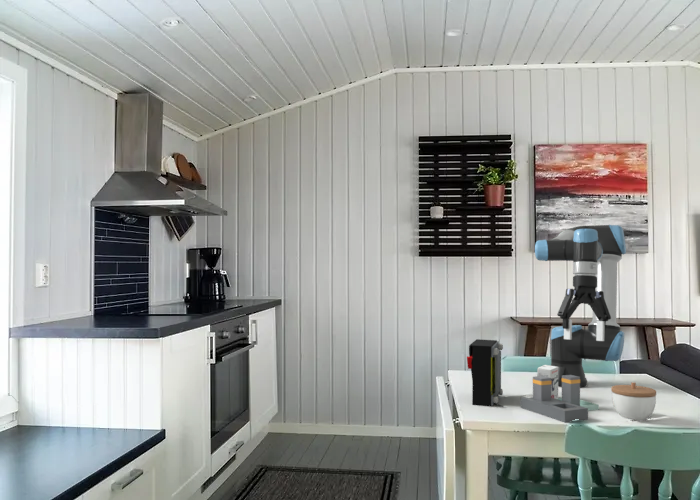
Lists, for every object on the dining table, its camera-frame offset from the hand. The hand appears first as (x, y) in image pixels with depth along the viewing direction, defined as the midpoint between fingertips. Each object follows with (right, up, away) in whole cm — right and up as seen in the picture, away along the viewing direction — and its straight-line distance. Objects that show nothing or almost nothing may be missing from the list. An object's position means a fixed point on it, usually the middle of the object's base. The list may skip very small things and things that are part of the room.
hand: (584, 340), depth 196 cm
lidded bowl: (+11, -23, -11) cm, 27 cm away
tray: (-4, -23, +1) cm, 23 cm away
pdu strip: (-13, -22, -8) cm, 27 cm away
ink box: (-8, -23, +13) cm, 28 cm away
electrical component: (-30, -23, +13) cm, 39 cm away
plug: (-4, -22, +1) cm, 22 cm away
